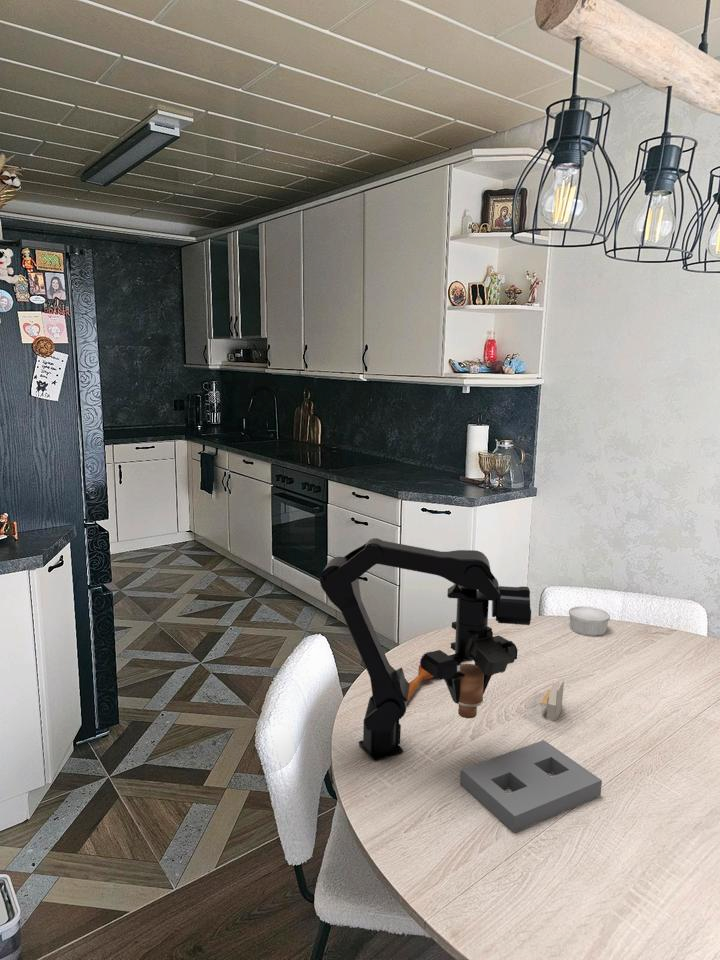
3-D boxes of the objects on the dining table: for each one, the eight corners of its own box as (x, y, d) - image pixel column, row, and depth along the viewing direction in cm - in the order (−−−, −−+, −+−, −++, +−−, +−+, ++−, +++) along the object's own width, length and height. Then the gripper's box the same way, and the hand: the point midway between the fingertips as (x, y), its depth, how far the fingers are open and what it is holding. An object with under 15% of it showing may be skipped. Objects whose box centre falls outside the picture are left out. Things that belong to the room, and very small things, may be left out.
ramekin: (581, 619, 196) (582, 602, 195) (616, 631, 187) (617, 614, 187) (559, 628, 189) (561, 611, 188) (595, 641, 180) (596, 623, 179)
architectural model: (539, 719, 141) (541, 686, 139) (547, 705, 147) (549, 673, 145) (555, 723, 139) (557, 691, 138) (562, 709, 145) (565, 677, 144)
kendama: (386, 685, 145) (424, 646, 162) (390, 710, 146) (428, 669, 163) (410, 688, 142) (446, 648, 159) (414, 713, 143) (450, 671, 160)
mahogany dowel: (465, 724, 120) (467, 679, 119) (447, 710, 125) (448, 667, 124) (488, 716, 123) (490, 673, 122) (469, 703, 128) (471, 661, 126)
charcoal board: (513, 832, 105) (514, 816, 105) (460, 784, 118) (460, 768, 117) (600, 795, 115) (601, 780, 115) (542, 754, 127) (543, 739, 127)
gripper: (458, 646, 109) (454, 732, 112) (541, 626, 119) (535, 706, 121) (420, 623, 119) (417, 703, 122) (499, 606, 128) (495, 680, 131)
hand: (468, 698), depth 124 cm, fingers closed on mahogany dowel, 5 cm apart
